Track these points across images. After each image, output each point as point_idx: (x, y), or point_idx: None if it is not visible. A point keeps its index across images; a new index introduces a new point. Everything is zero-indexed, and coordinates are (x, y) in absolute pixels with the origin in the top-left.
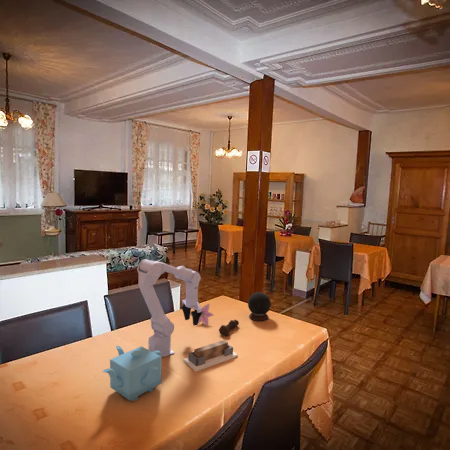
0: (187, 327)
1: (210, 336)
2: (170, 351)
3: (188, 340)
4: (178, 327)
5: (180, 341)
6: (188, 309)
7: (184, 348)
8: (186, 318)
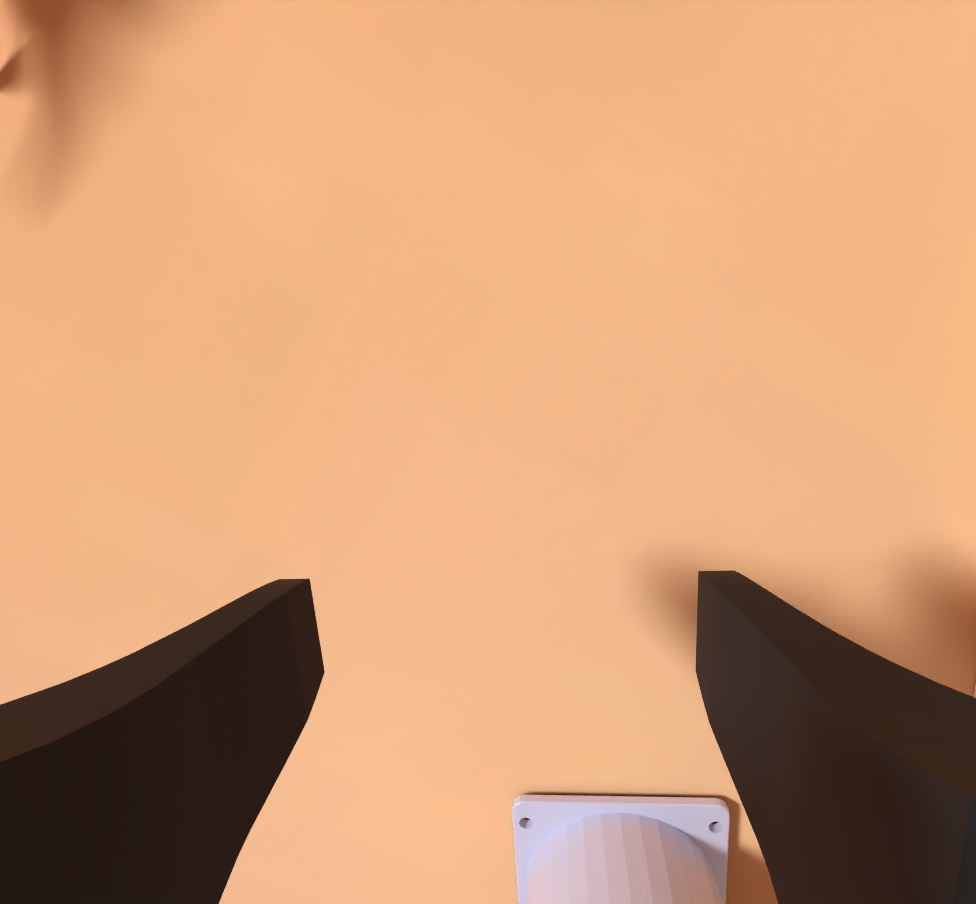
0: (67, 287)
1: (555, 103)
2: (678, 829)
3: (495, 493)
4: (24, 411)
5: (467, 595)
6: (128, 837)
7: (677, 645)
8: (307, 683)
